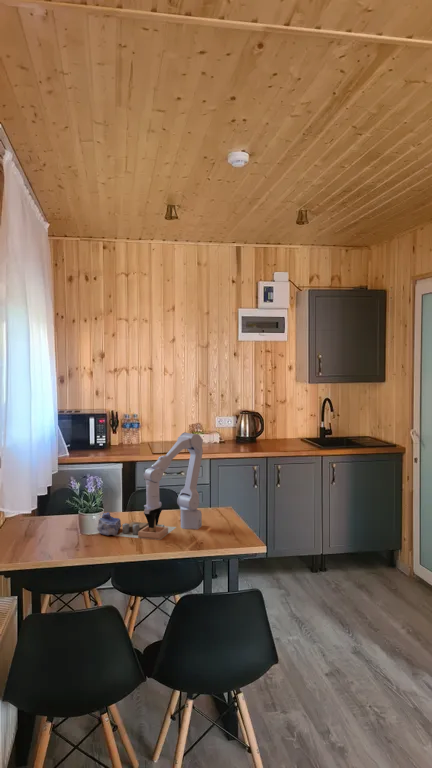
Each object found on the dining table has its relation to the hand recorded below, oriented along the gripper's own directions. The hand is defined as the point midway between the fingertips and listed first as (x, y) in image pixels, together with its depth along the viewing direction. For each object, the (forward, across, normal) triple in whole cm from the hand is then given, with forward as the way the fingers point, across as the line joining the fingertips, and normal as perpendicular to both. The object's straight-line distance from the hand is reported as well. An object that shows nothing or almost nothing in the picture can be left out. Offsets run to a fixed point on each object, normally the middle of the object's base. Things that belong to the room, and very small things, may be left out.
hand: (153, 526), depth 246 cm
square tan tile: (+4, -5, -10) cm, 12 cm away
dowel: (+3, 0, 0) cm, 3 cm away
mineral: (+5, +1, -21) cm, 22 cm away
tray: (+4, 0, 0) cm, 4 cm away
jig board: (+5, -4, -5) cm, 8 cm away
